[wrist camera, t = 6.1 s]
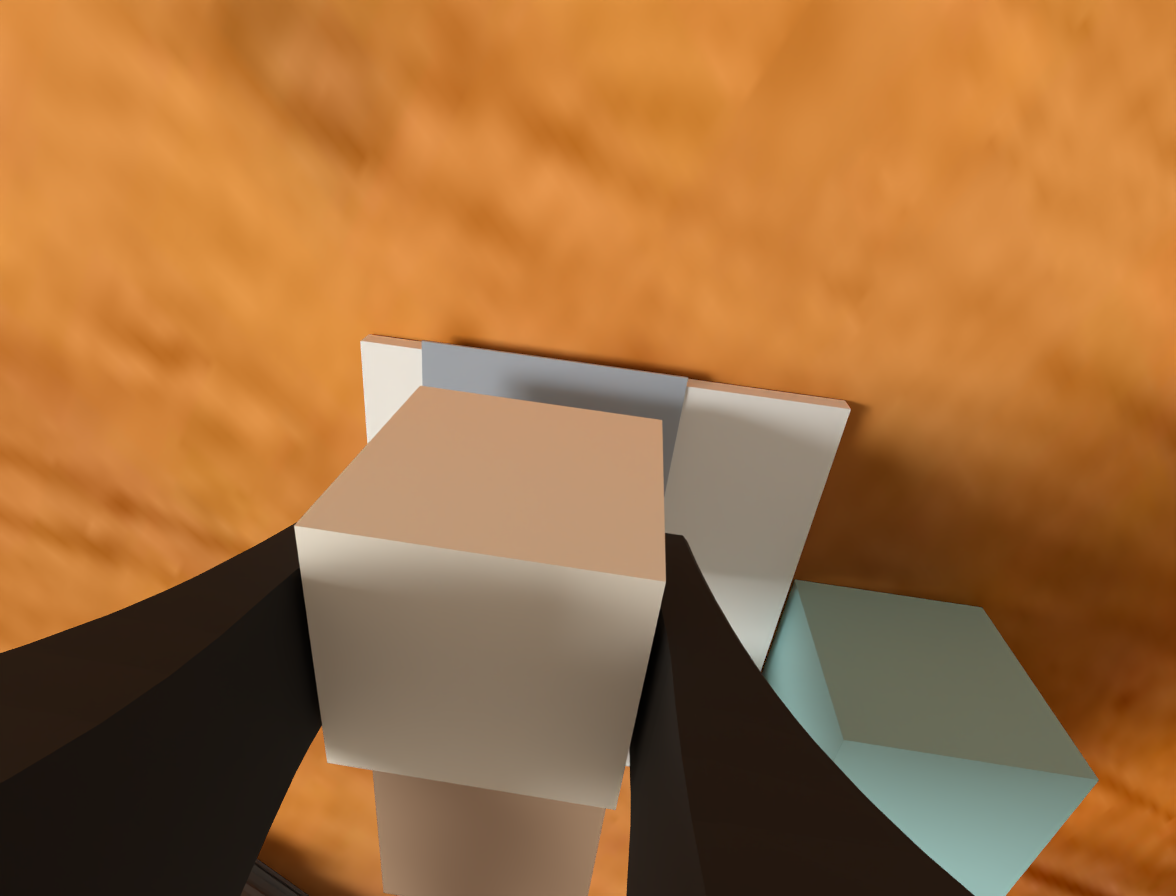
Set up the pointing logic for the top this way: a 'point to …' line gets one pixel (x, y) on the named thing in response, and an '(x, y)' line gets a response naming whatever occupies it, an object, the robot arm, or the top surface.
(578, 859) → the walnut cube
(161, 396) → the top surface
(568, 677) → the cream cube
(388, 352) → the white tray board
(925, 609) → the teal cube
